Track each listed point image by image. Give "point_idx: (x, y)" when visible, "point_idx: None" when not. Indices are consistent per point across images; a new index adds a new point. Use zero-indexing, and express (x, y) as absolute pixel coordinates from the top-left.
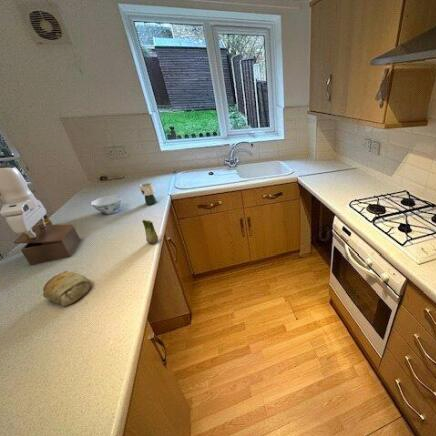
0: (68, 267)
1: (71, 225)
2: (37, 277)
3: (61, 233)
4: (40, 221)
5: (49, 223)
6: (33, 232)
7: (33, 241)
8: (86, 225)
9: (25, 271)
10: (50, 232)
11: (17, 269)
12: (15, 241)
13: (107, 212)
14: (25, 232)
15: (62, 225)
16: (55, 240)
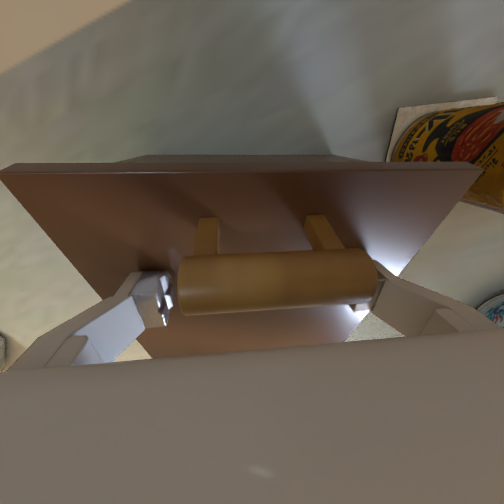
0: (98, 301)
1: (331, 341)
2: (32, 228)
3: (233, 343)
4: (405, 312)
5: (499, 211)
6: (128, 344)
7: (97, 290)
8: (437, 263)
9: (86, 154)
10: (252, 313)
11: (113, 96)
12: (19, 185)
13: (484, 314)
14: (42, 349)
15: (347, 322)
16: (144, 348)
